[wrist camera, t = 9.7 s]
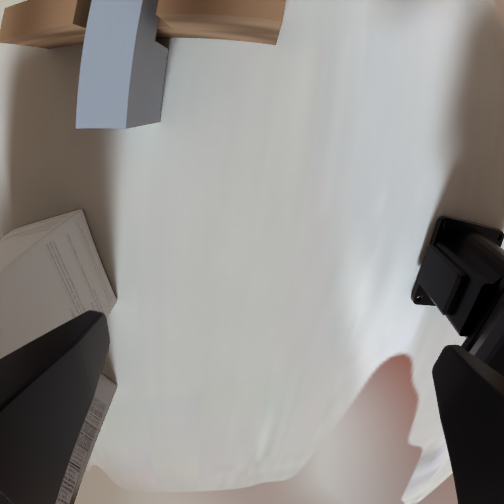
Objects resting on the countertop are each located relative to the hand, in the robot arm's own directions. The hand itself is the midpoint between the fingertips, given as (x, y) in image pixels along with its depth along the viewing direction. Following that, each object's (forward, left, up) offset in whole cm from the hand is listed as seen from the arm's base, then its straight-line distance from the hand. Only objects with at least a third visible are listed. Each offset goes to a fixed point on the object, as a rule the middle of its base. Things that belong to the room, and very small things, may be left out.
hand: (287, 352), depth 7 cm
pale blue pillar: (+8, -10, -12) cm, 18 cm away
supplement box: (+14, +6, -12) cm, 20 cm away
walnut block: (+8, -10, -12) cm, 18 cm away
